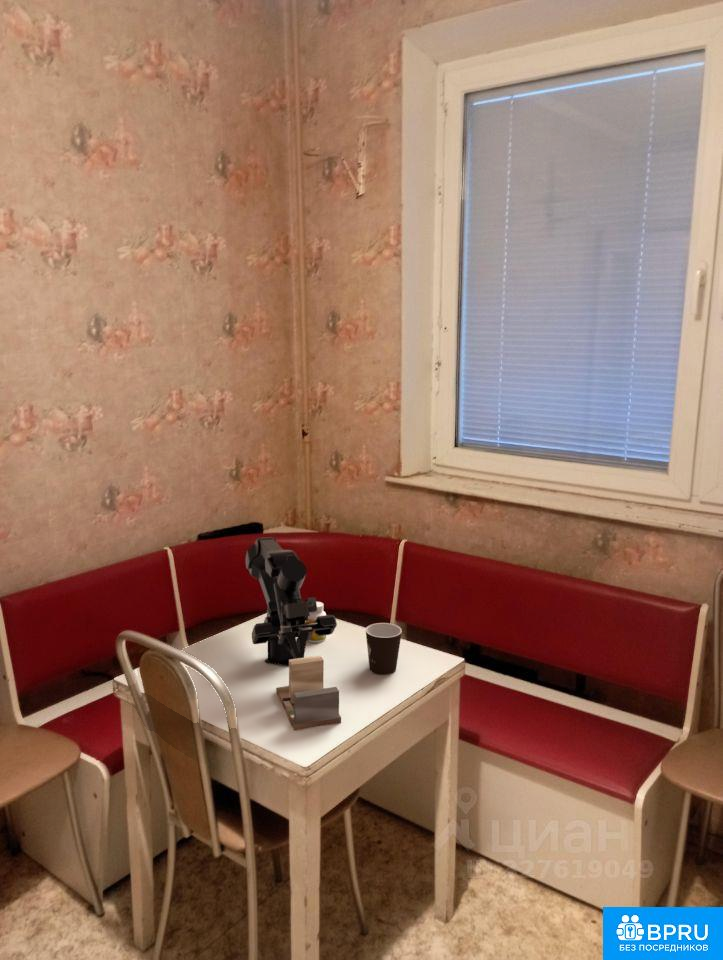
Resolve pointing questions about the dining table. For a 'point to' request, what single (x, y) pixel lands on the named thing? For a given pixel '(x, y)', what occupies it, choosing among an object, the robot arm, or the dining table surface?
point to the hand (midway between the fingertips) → (300, 665)
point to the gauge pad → (305, 675)
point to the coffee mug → (383, 647)
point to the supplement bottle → (313, 617)
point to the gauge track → (311, 707)
